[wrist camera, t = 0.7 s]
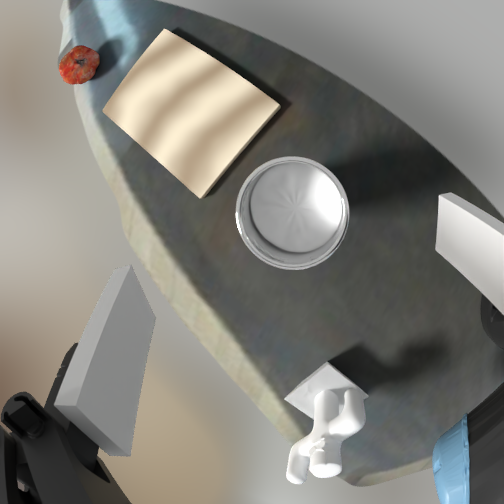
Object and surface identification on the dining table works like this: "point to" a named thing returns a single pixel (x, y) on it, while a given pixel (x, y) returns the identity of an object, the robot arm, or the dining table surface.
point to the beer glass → (292, 213)
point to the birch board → (189, 111)
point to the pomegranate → (79, 65)
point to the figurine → (325, 422)
